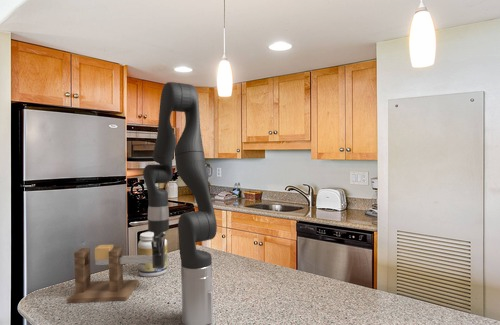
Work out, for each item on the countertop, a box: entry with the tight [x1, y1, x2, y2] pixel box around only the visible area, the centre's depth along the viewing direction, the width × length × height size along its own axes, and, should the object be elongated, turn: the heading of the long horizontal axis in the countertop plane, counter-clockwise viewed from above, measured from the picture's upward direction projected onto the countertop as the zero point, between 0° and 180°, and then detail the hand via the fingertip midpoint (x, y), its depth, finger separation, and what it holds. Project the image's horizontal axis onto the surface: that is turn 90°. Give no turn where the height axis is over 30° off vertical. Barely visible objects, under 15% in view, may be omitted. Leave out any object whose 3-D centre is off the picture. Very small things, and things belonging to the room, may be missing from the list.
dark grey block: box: [95, 244, 165, 268], centre depth 124 cm, size 24×3×8 cm, turn 94°
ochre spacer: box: [94, 244, 115, 261], centre depth 123 cm, size 5×5×4 cm
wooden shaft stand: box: [66, 246, 140, 304], centre depth 123 cm, size 20×16×16 cm
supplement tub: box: [137, 231, 169, 278], centre depth 144 cm, size 12×12×17 cm
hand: (158, 263), depth 125 cm, fingers closed on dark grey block, 3 cm apart
